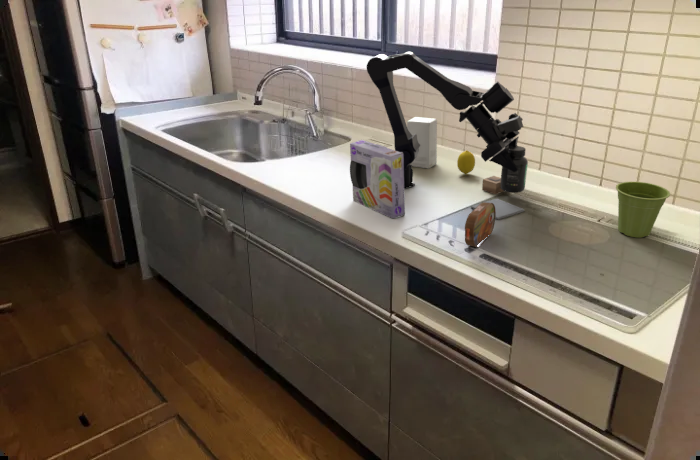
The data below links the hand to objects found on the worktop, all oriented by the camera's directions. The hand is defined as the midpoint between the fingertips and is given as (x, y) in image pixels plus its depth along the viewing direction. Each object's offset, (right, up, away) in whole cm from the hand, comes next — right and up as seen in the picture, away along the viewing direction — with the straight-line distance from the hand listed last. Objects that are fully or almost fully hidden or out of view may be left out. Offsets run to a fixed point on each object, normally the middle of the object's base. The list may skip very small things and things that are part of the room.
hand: (519, 167), depth 163 cm
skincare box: (-23, +4, +34) cm, 41 cm away
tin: (-16, -20, -20) cm, 33 cm away
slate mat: (-7, -12, -4) cm, 14 cm away
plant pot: (+23, -18, -19) cm, 35 cm away
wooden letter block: (-5, -6, +10) cm, 13 cm away
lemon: (-10, 0, +24) cm, 26 cm away
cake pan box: (-40, -12, 0) cm, 42 cm away
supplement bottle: (-1, -6, +3) cm, 7 cm away
